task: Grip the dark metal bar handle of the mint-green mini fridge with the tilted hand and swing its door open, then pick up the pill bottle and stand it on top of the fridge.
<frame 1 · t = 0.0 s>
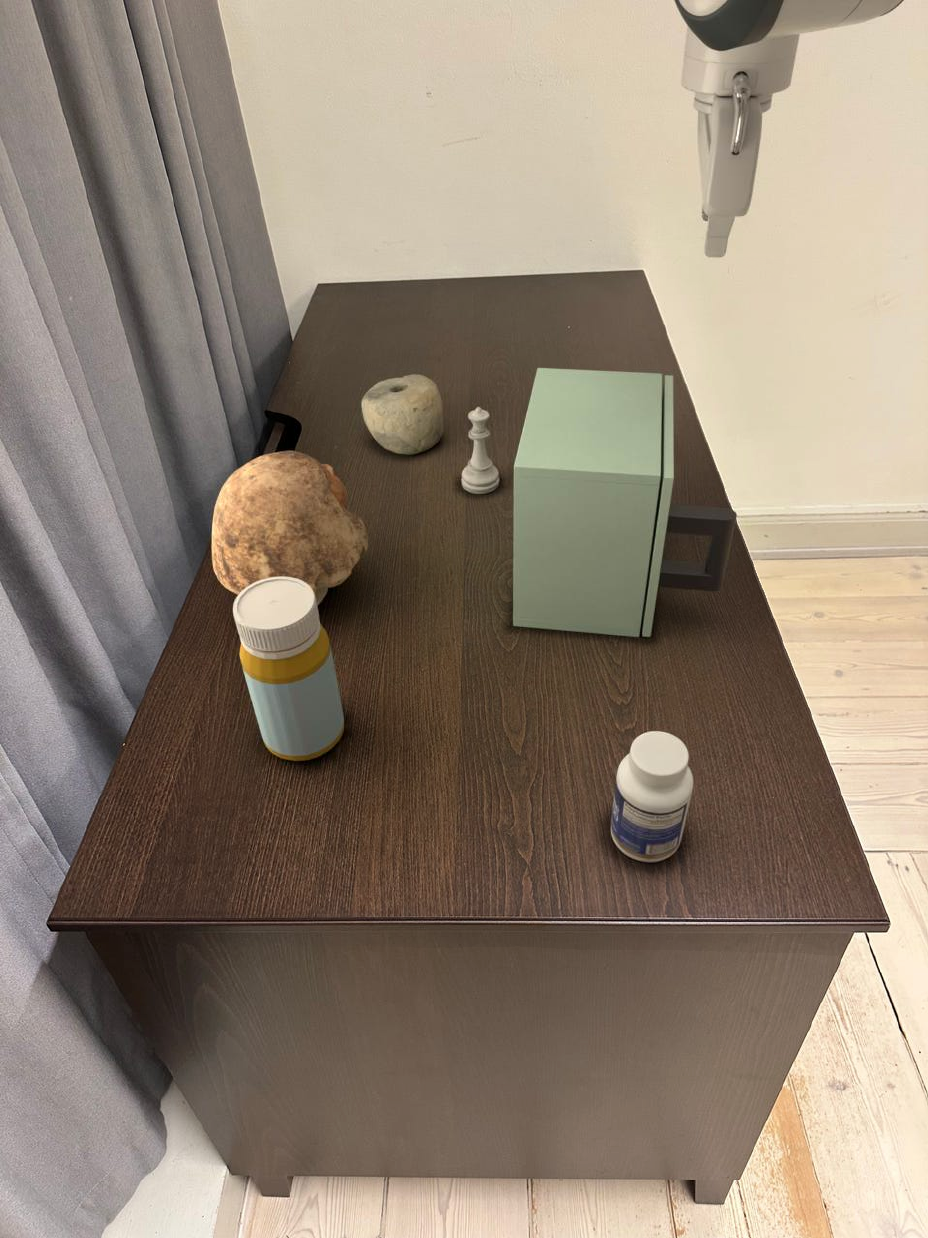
hand: (712, 235, 82), 29 cm above the sideboard, tool pointing down, fingers open, 8 cm apart
fridge door: (689, 507, 84), point 9 cm above the sideboard, hinge at 0.0°
stone: (406, 440, 112), on the sideboard
bottle: (305, 735, 76), on the sideboard
chess piece: (480, 485, 104), on the sideboard
tan rounded lump: (301, 595, 90), on the sideboard
mini fridge: (582, 572, 91), on the sideboard
pill bottle: (644, 835, 68), on the sideboard
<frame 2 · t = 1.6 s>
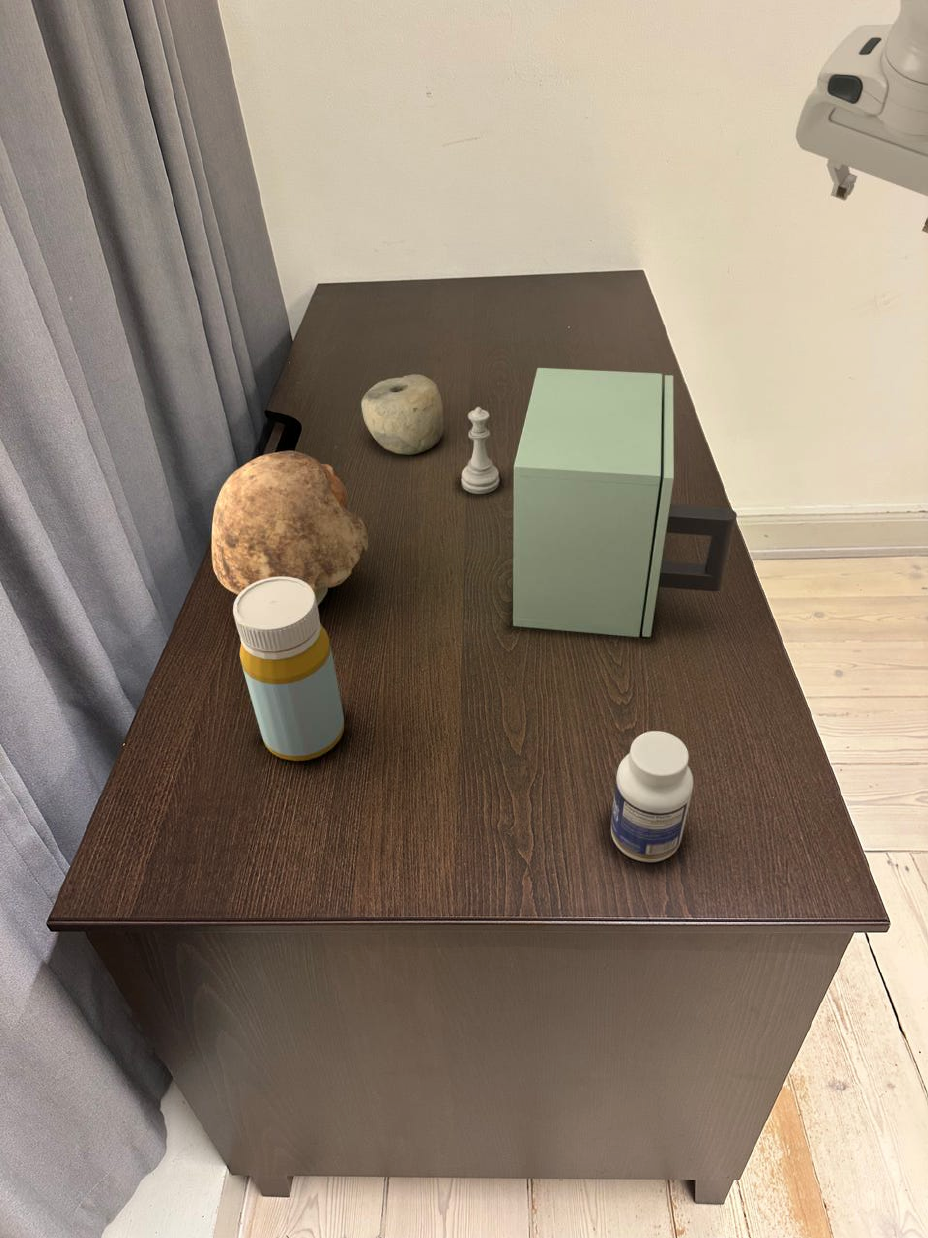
hand: (886, 211, 86), 28 cm above the sideboard, tool tilted 25°, fingers open, 8 cm apart
nothing on the sideboard moved.
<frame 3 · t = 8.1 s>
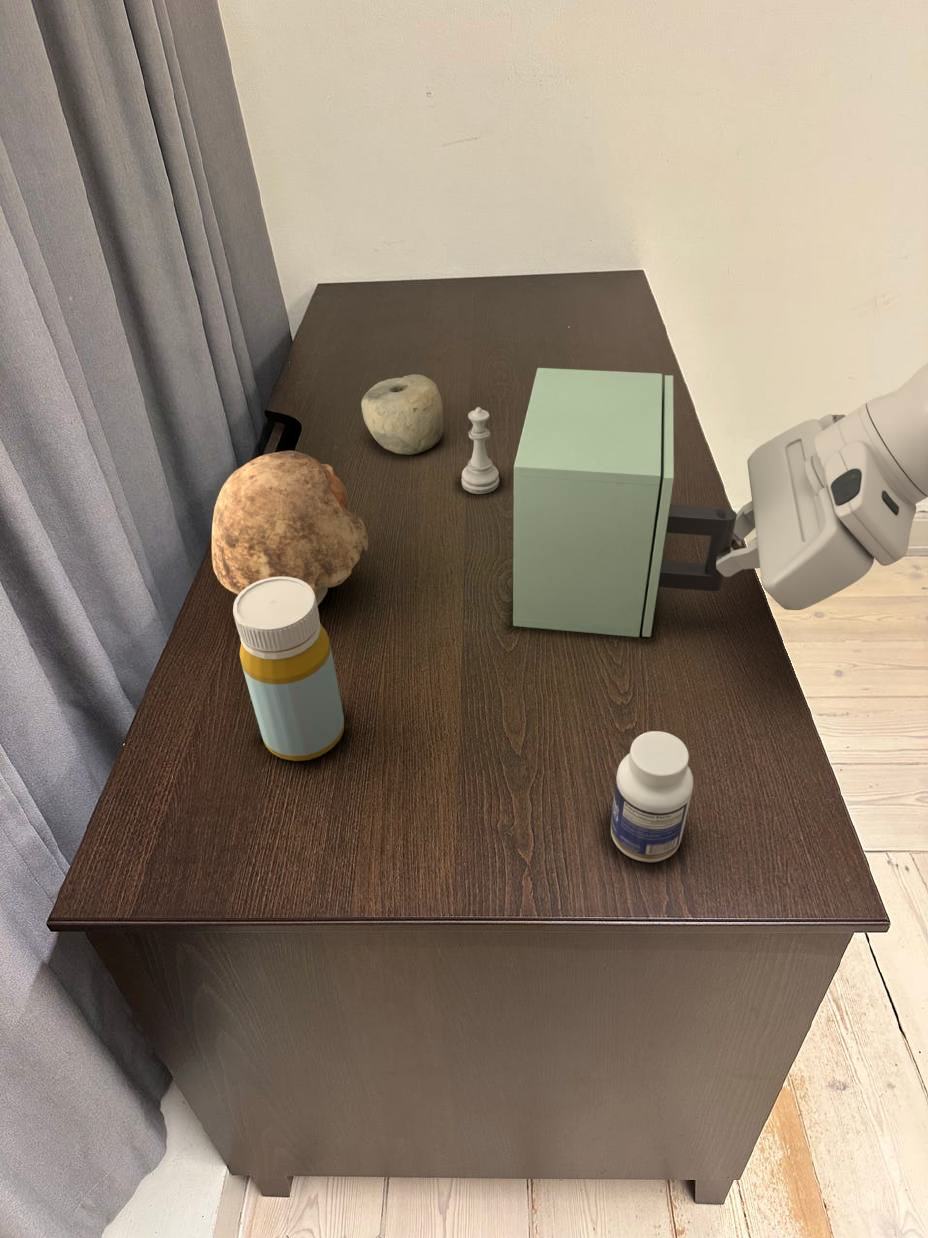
hand: (718, 556, 79), 8 cm above the sideboard, tool tilted 45°, fingers closed on fridge door, 2 cm apart
fridge door: (689, 507, 84), point 9 cm above the sideboard, hinge at 0.0°, touching gripper
everything else where it was.
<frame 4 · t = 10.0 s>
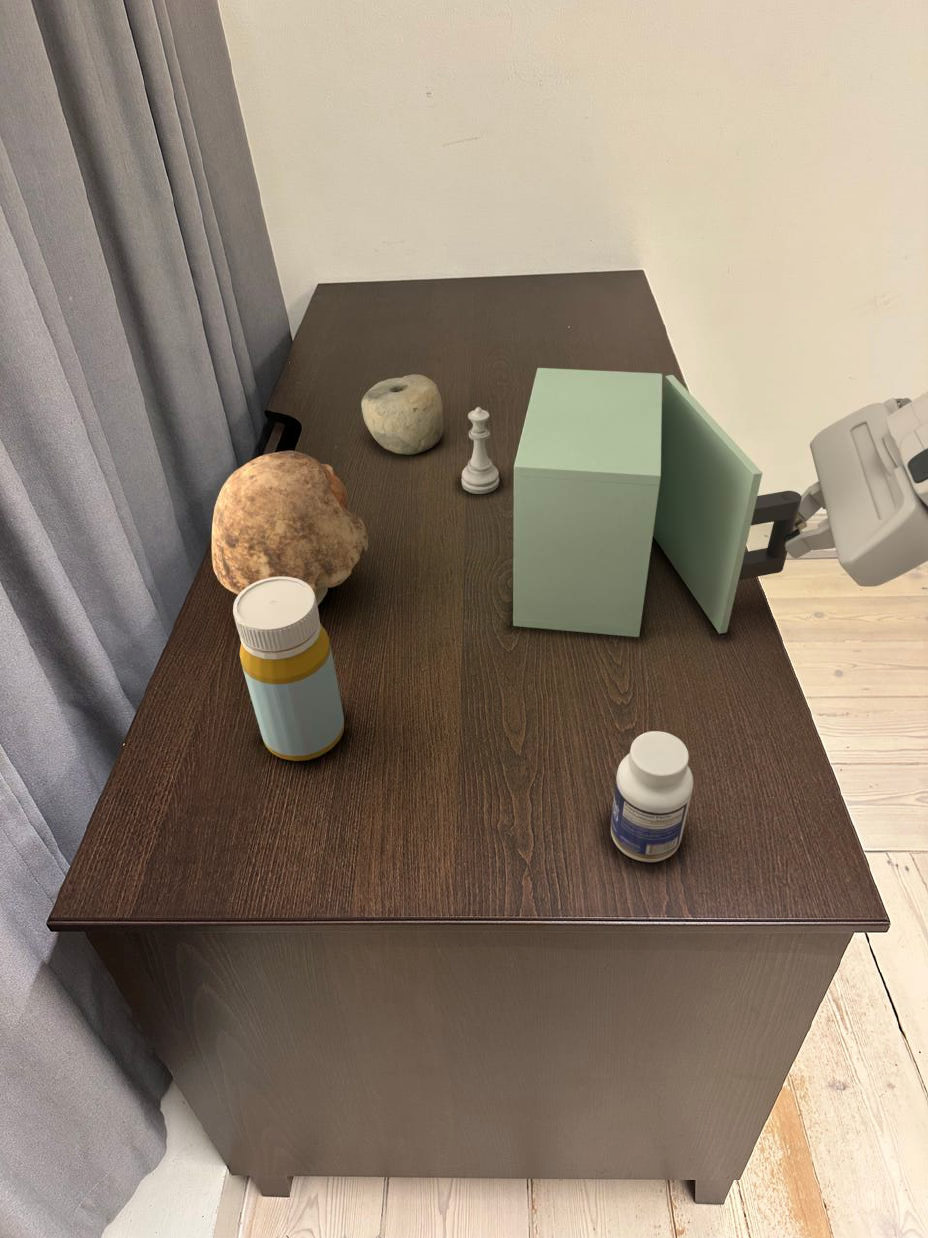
hand: (785, 537, 81), 8 cm above the sideboard, tool tilted 45°, fingers closed
fridge door: (724, 498, 85), point 9 cm above the sideboard, hinge at 23.3°, touching gripper
everything else where it was.
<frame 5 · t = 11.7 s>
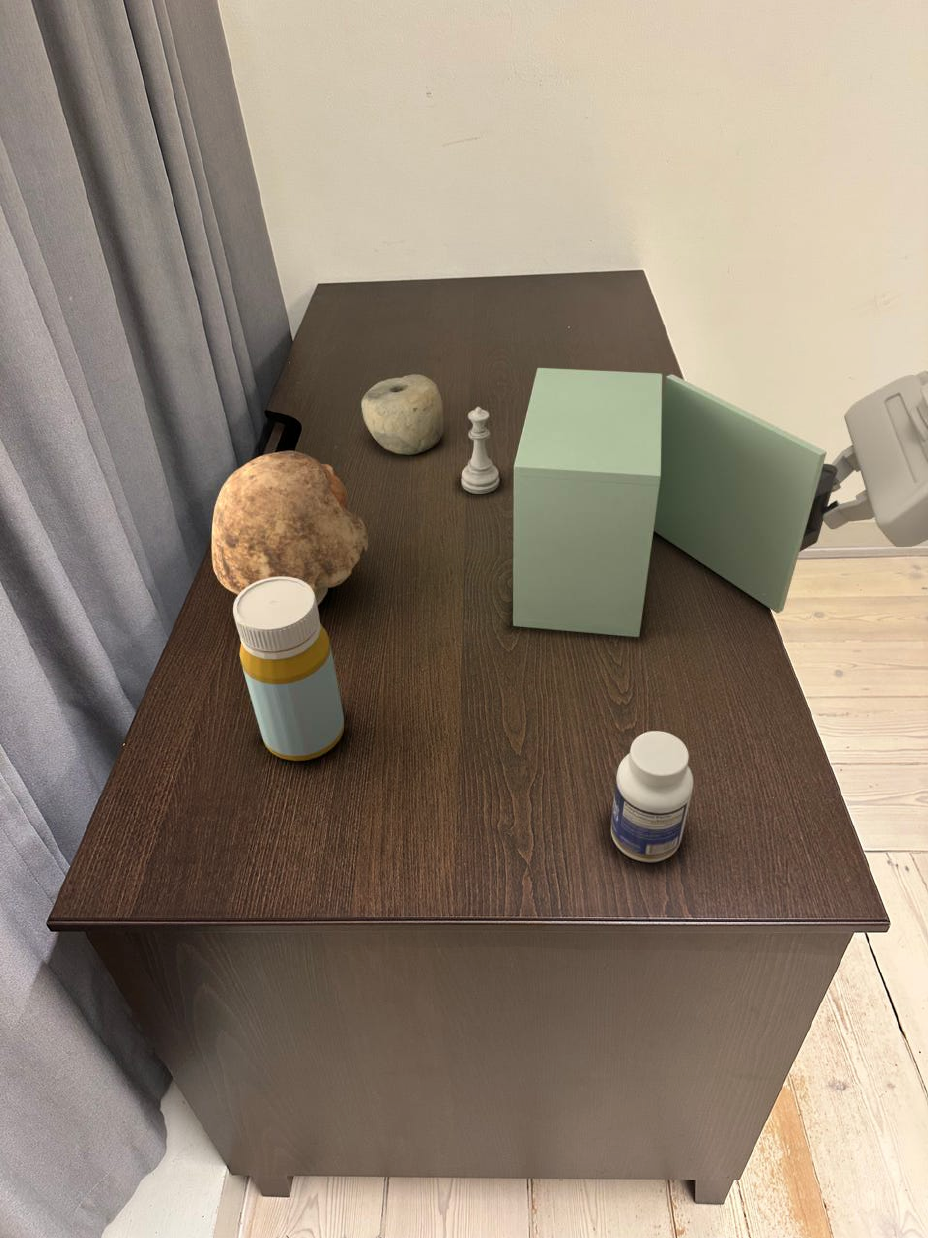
hand: (821, 504, 84), 8 cm above the sideboard, tool tilted 45°, fingers open, 4 cm apart
fridge door: (746, 483, 86), point 9 cm above the sideboard, hinge at 44.7°, touching gripper
everything else where it was.
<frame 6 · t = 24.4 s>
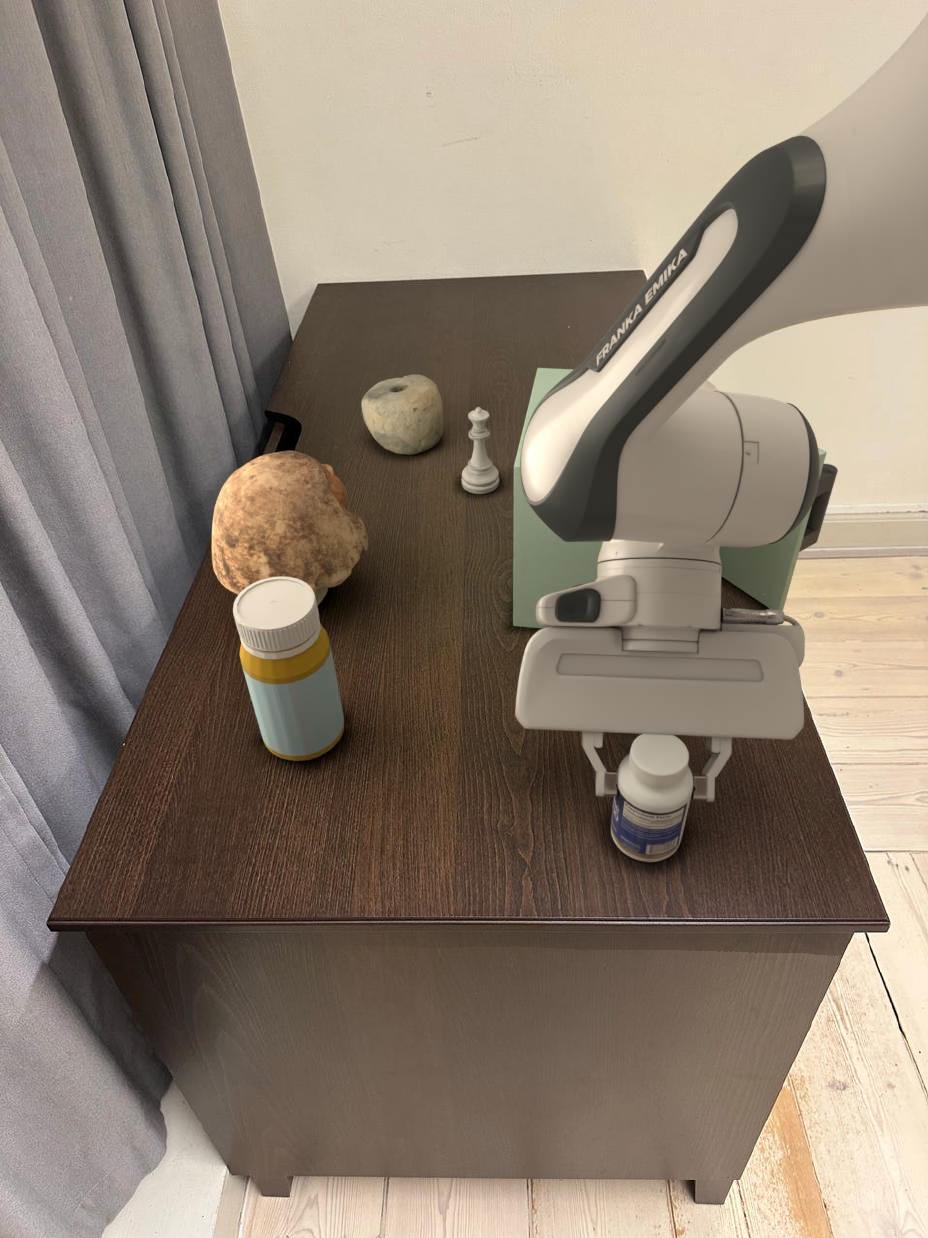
hand: (653, 798, 64), 5 cm above the sideboard, tool tilted 45°, fingers closed on pill bottle, 5 cm apart
fridge door: (746, 483, 86), point 9 cm above the sideboard, hinge at 44.7°
pill bottle: (644, 835, 68), on the sideboard, touching gripper
everything else where it was.
when the fingers open (23 cm above the sideboard, at t = 34.2 s): pill bottle stays where it is, resting on mini fridge.
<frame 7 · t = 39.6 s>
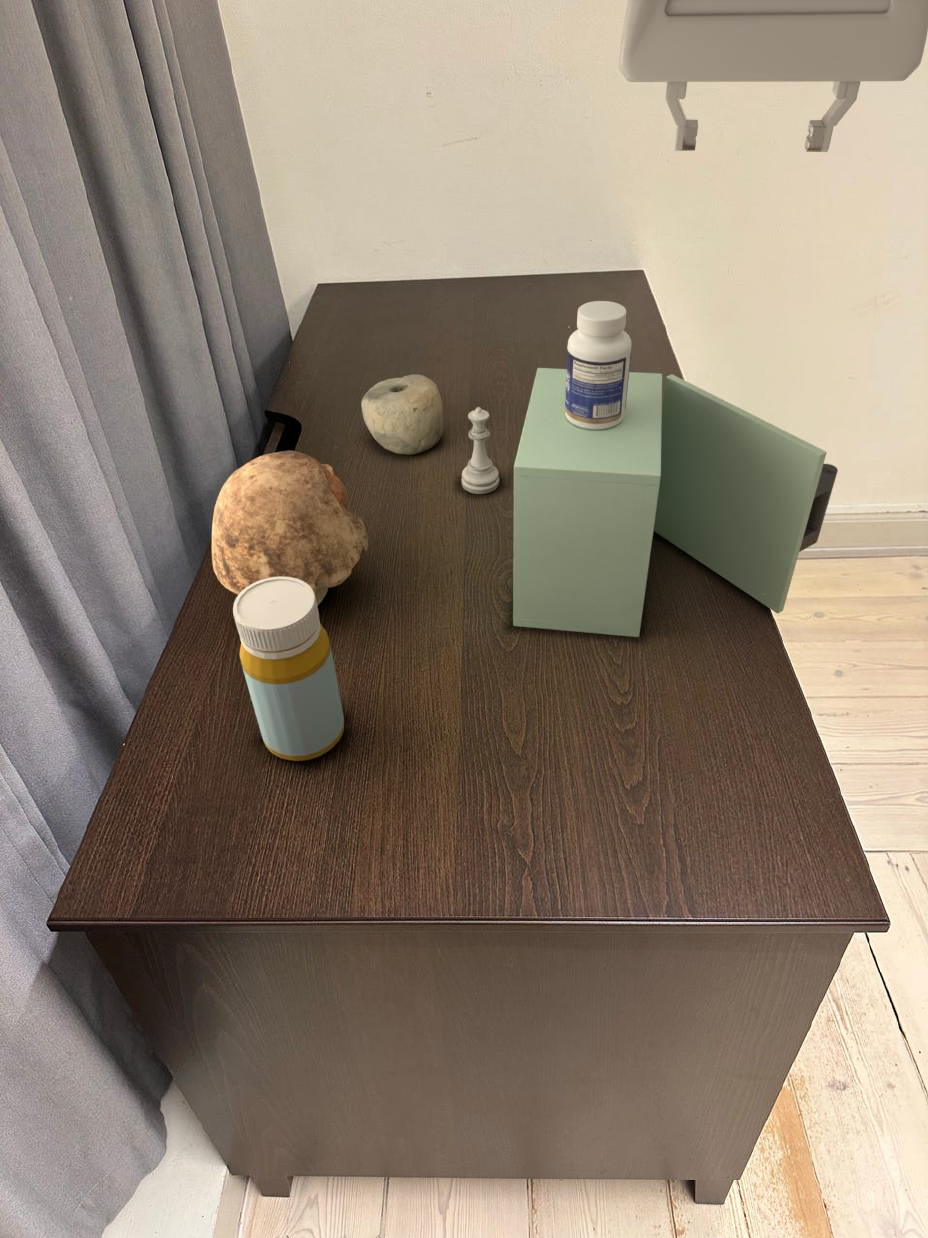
hand: (749, 149, 66), 39 cm above the sideboard, tool pointing down, fingers open, 8 cm apart
pill bottle: (594, 418, 79), point 18 cm above the sideboard, touching mini fridge
everything else where it was.
at the end: fridge door at +45° (first picture: +0°); pill bottle inside the target area on the mini fridge (0.1 cm from its centre), point 17.8 cm above the mini fridge's base; pill bottle tilted 0° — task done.
